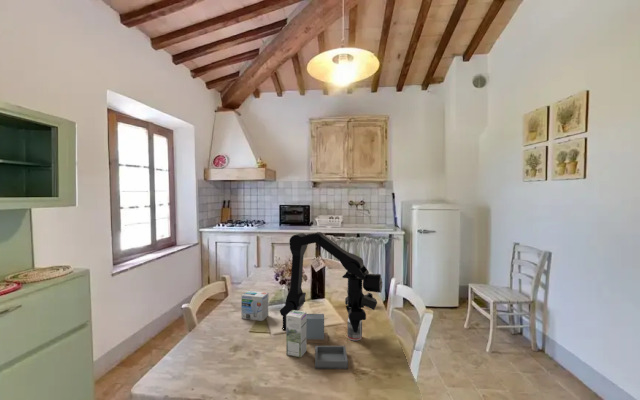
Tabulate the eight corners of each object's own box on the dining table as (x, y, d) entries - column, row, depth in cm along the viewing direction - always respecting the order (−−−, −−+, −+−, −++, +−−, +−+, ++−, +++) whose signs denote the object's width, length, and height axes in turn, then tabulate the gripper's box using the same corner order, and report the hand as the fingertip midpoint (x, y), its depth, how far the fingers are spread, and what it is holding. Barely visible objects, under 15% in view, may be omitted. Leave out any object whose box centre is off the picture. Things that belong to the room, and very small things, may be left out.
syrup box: (307, 350, 120) (307, 311, 119) (300, 358, 114) (300, 317, 113) (292, 348, 121) (292, 309, 121) (285, 355, 116) (285, 314, 115)
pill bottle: (352, 333, 134) (352, 309, 133) (364, 337, 130) (364, 312, 130) (344, 338, 129) (344, 313, 129) (356, 342, 126) (356, 316, 125)
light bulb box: (240, 318, 149) (240, 294, 148) (248, 313, 155) (247, 290, 155) (262, 321, 146) (262, 297, 146) (269, 315, 152) (268, 292, 152)
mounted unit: (299, 343, 125) (299, 319, 125) (300, 335, 132) (300, 312, 132) (328, 343, 125) (328, 319, 125) (327, 335, 132) (327, 312, 132)
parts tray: (315, 368, 107) (315, 361, 107) (315, 352, 118) (315, 345, 118) (347, 368, 108) (347, 361, 107) (345, 352, 118) (345, 345, 118)
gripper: (380, 297, 120) (379, 339, 120) (371, 282, 138) (371, 319, 139) (349, 297, 120) (349, 339, 120) (345, 282, 138) (345, 319, 139)
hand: (354, 329), depth 130 cm, fingers closed on pill bottle, 6 cm apart
